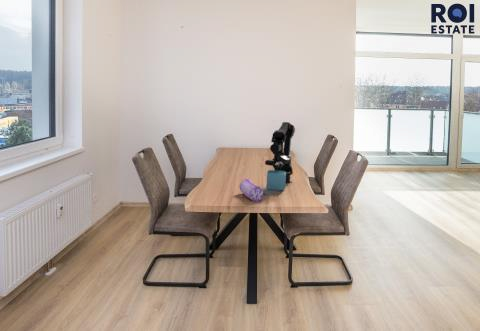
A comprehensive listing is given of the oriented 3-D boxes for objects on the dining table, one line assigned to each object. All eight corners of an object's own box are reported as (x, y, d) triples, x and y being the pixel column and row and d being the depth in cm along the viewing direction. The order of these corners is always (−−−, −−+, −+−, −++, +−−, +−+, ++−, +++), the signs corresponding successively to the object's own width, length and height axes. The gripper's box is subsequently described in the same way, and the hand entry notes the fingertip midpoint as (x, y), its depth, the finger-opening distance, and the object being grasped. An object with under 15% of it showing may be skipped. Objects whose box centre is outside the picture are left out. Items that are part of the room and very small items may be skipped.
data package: (284, 187, 288) (286, 171, 283) (284, 190, 284) (286, 174, 279) (266, 185, 289) (267, 169, 284) (266, 189, 285) (267, 173, 280)
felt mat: (263, 187, 291) (263, 187, 291) (281, 192, 279) (281, 192, 279) (250, 190, 283) (250, 190, 283) (267, 195, 271) (267, 194, 271)
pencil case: (265, 201, 257) (265, 185, 256) (250, 202, 254) (250, 186, 253) (251, 192, 278) (251, 178, 276) (237, 193, 275) (237, 178, 273)
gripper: (277, 153, 271) (276, 178, 274) (297, 151, 284) (296, 175, 286) (264, 151, 280) (264, 175, 282) (285, 149, 292) (284, 172, 295)
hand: (277, 174), depth 286 cm, fingers closed
